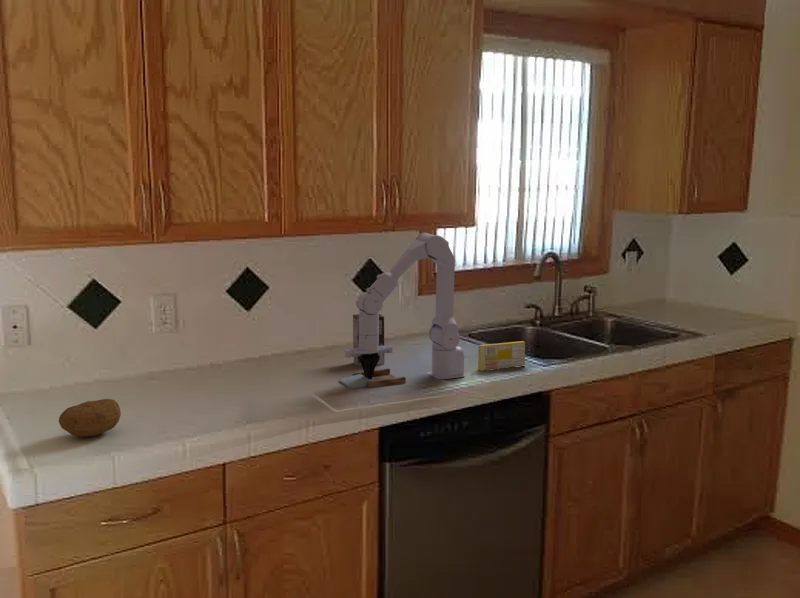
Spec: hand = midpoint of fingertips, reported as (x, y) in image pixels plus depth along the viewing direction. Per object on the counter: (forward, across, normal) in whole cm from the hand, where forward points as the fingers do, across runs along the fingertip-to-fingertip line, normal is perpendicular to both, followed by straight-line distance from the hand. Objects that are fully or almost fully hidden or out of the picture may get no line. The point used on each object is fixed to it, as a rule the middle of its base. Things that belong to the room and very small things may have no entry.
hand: (368, 378), depth 229 cm
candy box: (+2, -46, +2) cm, 46 cm away
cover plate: (+1, +4, 0) cm, 4 cm away
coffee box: (+2, -9, -20) cm, 22 cm away
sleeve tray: (+1, -3, 0) cm, 4 cm away
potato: (+2, +78, +12) cm, 79 cm away
